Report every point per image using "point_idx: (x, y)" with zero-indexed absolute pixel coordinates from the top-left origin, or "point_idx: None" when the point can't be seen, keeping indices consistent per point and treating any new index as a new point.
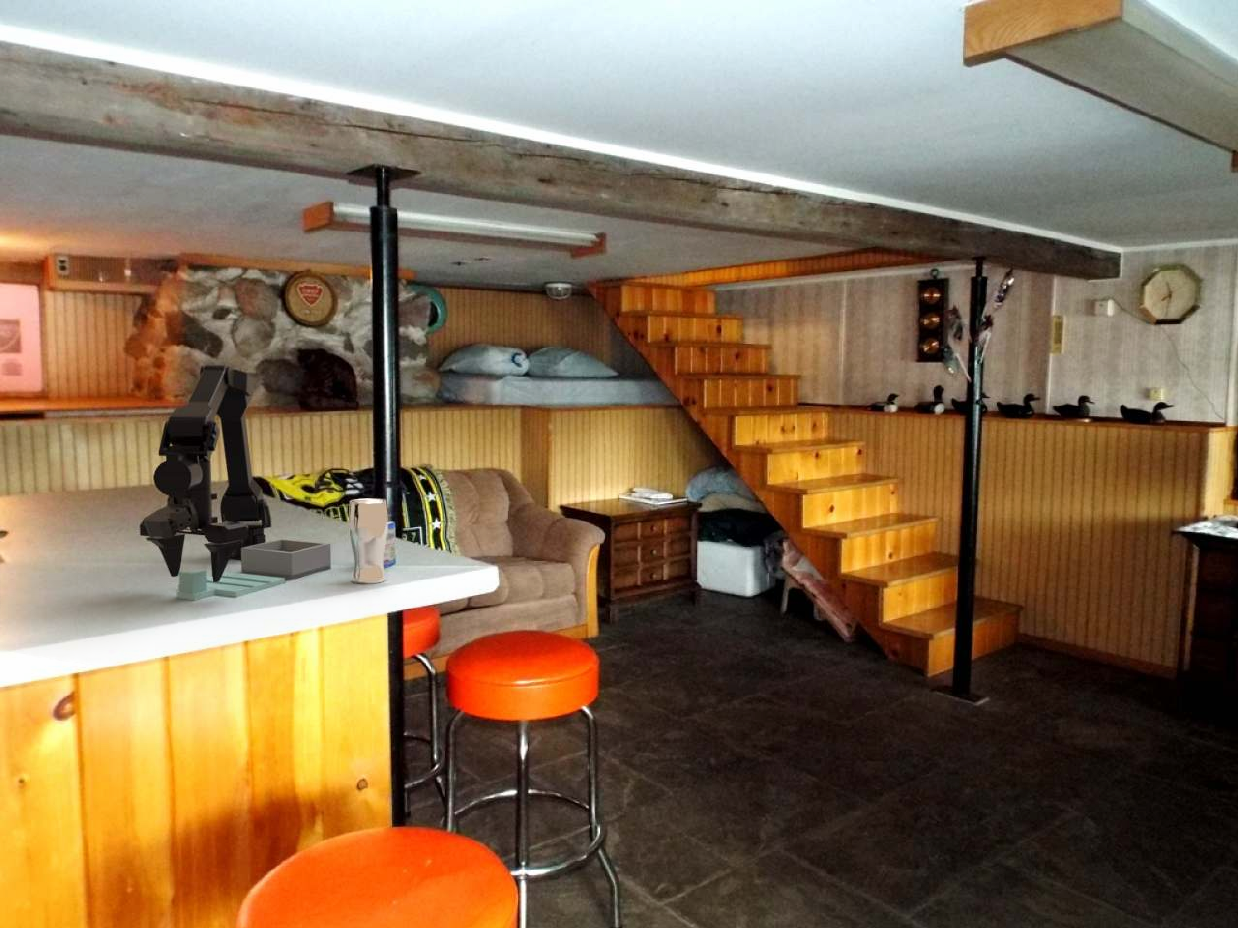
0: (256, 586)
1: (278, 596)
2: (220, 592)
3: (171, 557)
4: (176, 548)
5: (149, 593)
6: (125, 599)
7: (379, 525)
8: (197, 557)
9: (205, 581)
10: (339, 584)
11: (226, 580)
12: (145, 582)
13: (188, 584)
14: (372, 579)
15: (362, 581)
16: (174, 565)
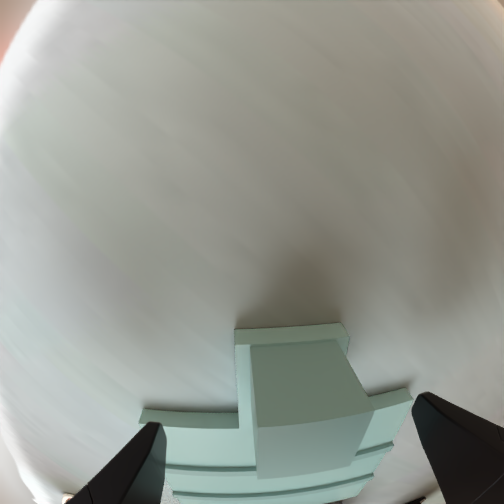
0: None
1: (68, 429)
2: (216, 420)
3: (470, 452)
4: (470, 497)
5: (459, 315)
6: (479, 219)
7: None
8: None
9: (253, 433)
10: None
11: (303, 479)
12: (497, 371)
13: (286, 375)
14: (62, 498)
15: (70, 496)
16: (440, 433)
